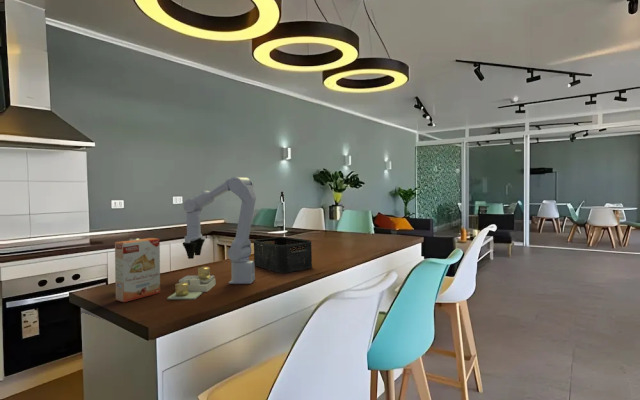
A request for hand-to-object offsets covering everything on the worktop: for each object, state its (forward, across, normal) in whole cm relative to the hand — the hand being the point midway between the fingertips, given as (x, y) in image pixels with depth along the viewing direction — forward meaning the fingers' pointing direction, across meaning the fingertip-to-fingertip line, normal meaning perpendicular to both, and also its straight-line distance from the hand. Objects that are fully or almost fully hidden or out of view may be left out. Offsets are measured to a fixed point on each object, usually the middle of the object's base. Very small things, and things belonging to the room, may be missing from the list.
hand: (194, 256), depth 155 cm
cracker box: (+10, +27, -10) cm, 30 cm away
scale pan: (+7, +15, +7) cm, 18 cm away
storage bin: (+10, -24, +36) cm, 44 cm away
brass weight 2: (+6, +15, +10) cm, 19 cm away
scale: (+9, +16, +7) cm, 20 cm away
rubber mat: (+9, +26, +7) cm, 29 cm away
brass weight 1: (+9, +26, +6) cm, 29 cm away
